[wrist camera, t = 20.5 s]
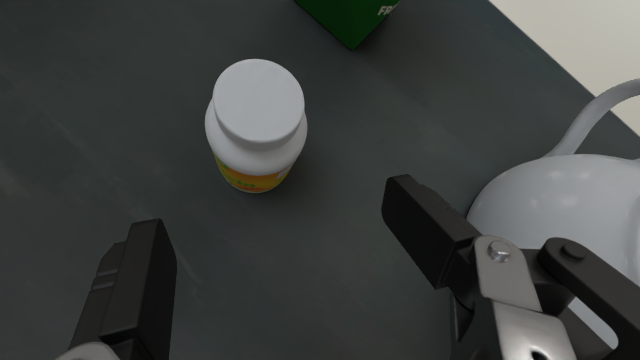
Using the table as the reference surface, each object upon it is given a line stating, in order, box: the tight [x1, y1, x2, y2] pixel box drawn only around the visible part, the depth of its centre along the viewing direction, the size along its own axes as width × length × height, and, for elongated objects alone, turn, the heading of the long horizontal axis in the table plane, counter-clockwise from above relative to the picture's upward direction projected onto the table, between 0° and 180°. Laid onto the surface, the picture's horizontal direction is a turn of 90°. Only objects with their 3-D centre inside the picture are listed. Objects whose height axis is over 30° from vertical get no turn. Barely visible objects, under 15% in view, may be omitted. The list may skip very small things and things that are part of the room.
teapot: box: [466, 78, 640, 349], centre depth 19 cm, size 19×18×14 cm
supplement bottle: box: [205, 59, 307, 193], centre depth 17 cm, size 5×5×10 cm
